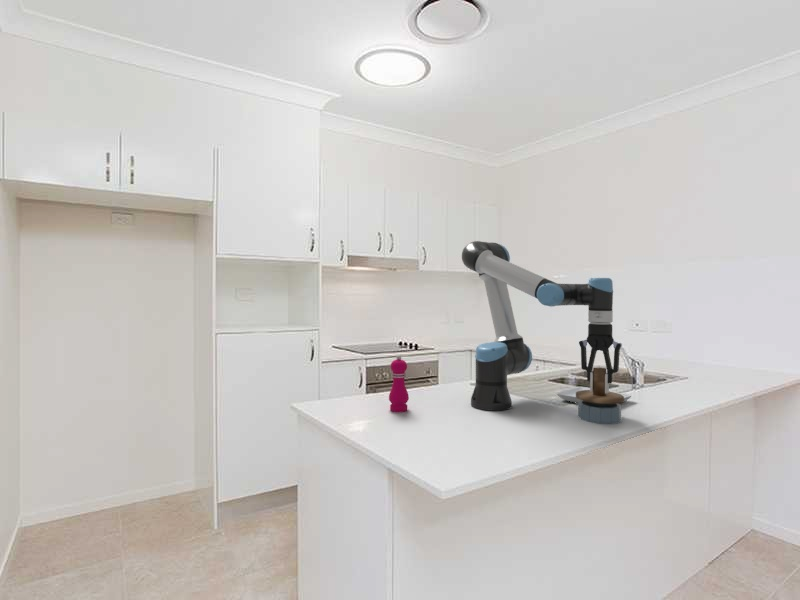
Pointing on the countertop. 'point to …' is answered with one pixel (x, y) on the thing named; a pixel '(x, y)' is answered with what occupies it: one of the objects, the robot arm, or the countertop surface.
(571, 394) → the salad plate
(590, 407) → the bowl
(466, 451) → the countertop surface
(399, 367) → the pepper mill
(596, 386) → the lid
